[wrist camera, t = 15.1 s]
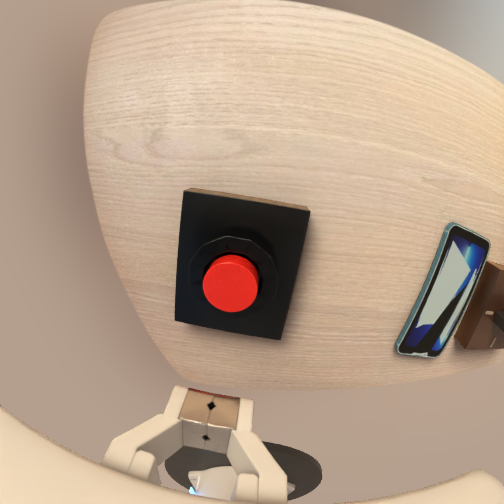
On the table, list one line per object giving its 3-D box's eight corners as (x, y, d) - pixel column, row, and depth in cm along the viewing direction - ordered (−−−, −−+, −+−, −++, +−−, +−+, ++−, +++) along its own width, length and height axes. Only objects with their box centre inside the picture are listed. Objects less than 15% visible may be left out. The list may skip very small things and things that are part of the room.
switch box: (280, 327, 27) (280, 352, 23) (180, 309, 27) (168, 331, 23) (307, 206, 23) (314, 215, 20) (191, 187, 23) (176, 193, 20)
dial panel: (497, 337, 26) (508, 349, 23) (454, 336, 26) (465, 350, 23) (524, 271, 23) (538, 280, 20) (485, 260, 23) (501, 270, 20)
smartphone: (493, 241, 22) (438, 359, 26) (487, 239, 23) (435, 354, 27) (451, 220, 22) (393, 353, 26) (445, 218, 23) (390, 348, 27)
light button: (254, 305, 22) (252, 316, 21) (205, 296, 23) (200, 307, 21) (262, 259, 21) (261, 267, 20) (210, 250, 21) (205, 257, 20)
